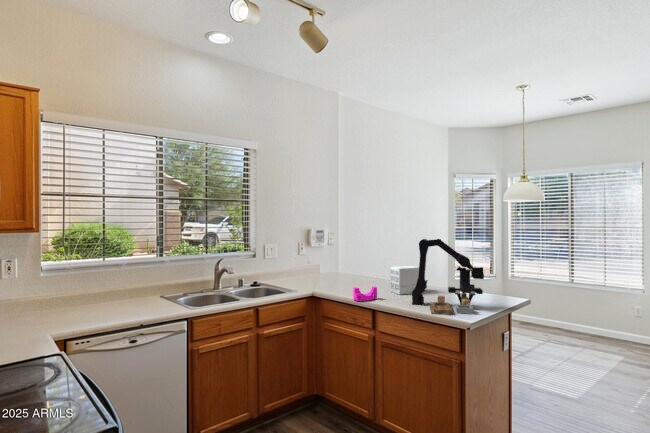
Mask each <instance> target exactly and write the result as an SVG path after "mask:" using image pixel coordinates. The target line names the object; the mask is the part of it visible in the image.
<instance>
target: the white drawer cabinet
mask: <svg viewBox="0 0 650 433" xmlns="http://www.w3.org/2000/svg"><path fill="white" fill-rule="evenodd" d="M389 269H390V270H389V271H390V272H389V273H390V274H389V275H390V280H389V281H390V286H389V287H390V293H393V294H396V295H398V296H400V295H410V294H411V295H412V291H413V289H414V288H415V287H416V283H417V280H418V275H419V266H415V265H411V264H410V265H398V266H397V265H396V266H390V267H389Z"/></svg>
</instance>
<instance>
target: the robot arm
mask: <svg viewBox="0 0 650 433" xmlns="http://www.w3.org/2000/svg"><path fill="white" fill-rule="evenodd" d="M430 247H439V248H440V249H441V250H443V251H444V252H445V253H447V254H448V255H450V256H451V257H452V258H454V260H455V261H456V262H457V263H458V264H459V265H460V266H458V267H457V268H456V271H459V288H458V287H457V288H456V287H455V286H448V287H447V292H448V293H449V294H455V295H456V296H457V297H458V301H459V305H460V304H461V303H462V302H461V293H466V294H468V298H469V300H470V303H471V302H472V299H473V297H475V296H476V295H483V294H484V293H483V289H482V288H481V287H476V286H475V284H471V278H473V279H474V280H484V278H485V274H484V267H483V266H482V267H481V266H479V267H475V266H473V265H472V264H471V260H470V258H469V257H467V256H466V255H464V254H461V253H460V252H458V251H457V250H455V249H454V248H452V247H451V246H450V245H448V244H447V243H446V242H445V241H443V240H442V239H440V238H436V239H427V238H423V239H421V240H420V241H418V250H419V264H418V265H419V266H418V267H419V275H418V280H417V283H416V287H415V288H414V289H413V291H412V294H411V298H412V300H411V301H412V302H411V305H412V306H424V305H425V296H424V294H423V293H424V292H426V289H427V288H428V280H427V279H426V267H427V254H428V250H429V249H430Z"/></svg>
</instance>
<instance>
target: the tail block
mask: <svg viewBox="0 0 650 433" xmlns="http://www.w3.org/2000/svg"><path fill="white" fill-rule="evenodd" d="M437 302H445V303H446V298H445V295H437Z"/></svg>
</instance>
